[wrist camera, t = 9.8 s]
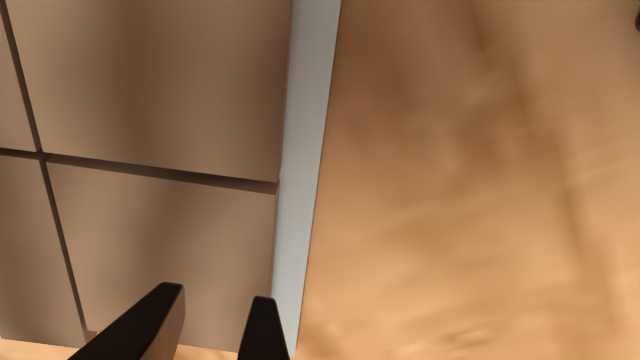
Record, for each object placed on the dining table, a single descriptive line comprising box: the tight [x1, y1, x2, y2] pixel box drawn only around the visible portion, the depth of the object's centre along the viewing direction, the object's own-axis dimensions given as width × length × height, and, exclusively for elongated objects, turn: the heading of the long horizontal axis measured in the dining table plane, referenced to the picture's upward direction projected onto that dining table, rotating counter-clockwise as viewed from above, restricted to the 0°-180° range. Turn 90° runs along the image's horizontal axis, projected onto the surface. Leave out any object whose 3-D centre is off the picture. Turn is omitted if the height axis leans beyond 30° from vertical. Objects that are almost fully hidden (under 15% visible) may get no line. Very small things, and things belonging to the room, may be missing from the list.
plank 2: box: [46, 154, 280, 353], centre depth 23 cm, size 10×11×1 cm
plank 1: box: [5, 0, 294, 183], centre depth 17 cm, size 10×11×1 cm
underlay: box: [271, 0, 341, 357], centre depth 21 cm, size 12×26×1 cm, turn 174°
